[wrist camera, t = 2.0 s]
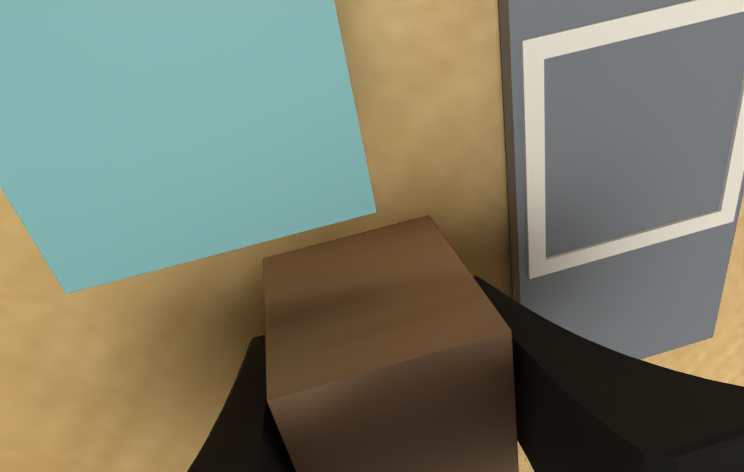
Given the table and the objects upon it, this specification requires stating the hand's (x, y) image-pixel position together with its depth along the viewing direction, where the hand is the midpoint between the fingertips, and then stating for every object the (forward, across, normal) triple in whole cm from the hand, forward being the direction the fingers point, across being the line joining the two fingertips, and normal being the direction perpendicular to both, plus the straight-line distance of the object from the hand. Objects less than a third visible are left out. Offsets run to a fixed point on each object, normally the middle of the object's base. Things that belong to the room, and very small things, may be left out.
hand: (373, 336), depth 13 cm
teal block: (+2, +2, -8) cm, 8 cm away
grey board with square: (+1, -8, -3) cm, 9 cm away
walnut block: (+2, 0, 0) cm, 2 cm away
